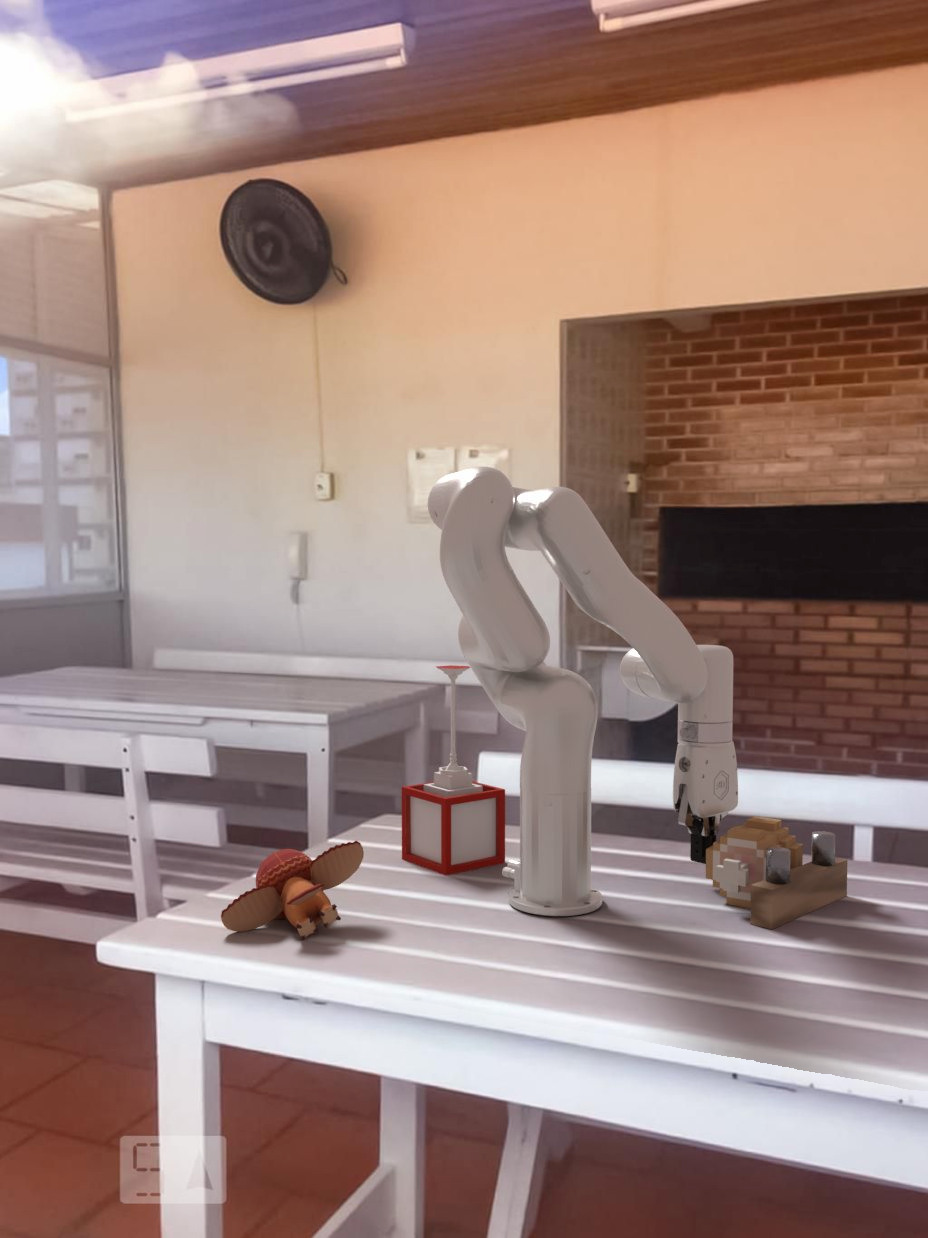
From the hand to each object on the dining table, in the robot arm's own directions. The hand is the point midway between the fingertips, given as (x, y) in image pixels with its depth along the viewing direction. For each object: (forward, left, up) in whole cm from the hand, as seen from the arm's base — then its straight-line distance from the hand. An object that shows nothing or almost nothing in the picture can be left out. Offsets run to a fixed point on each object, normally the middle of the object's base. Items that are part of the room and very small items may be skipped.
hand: (703, 861), depth 154 cm
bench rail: (+15, 0, -4) cm, 15 cm away
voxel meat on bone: (+8, +1, -4) cm, 9 cm away
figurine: (-27, -51, -4) cm, 58 cm away
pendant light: (-35, -16, -4) cm, 38 cm away
